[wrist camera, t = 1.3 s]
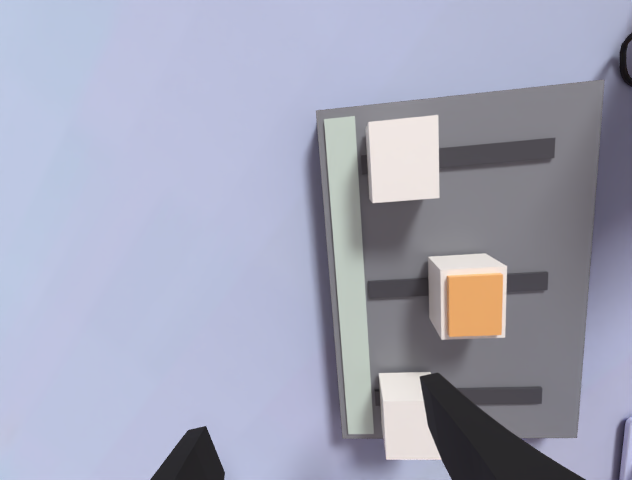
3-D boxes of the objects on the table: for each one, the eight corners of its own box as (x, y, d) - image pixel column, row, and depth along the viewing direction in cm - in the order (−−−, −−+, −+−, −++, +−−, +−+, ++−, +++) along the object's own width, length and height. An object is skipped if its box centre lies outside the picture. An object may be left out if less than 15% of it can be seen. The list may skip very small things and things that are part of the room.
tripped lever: (485, 253, 18) (510, 268, 15) (484, 315, 19) (508, 340, 16) (428, 256, 18) (442, 271, 16) (429, 318, 19) (443, 342, 16)
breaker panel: (576, 89, 18) (607, 78, 16) (556, 414, 22) (579, 440, 20) (319, 116, 20) (315, 109, 17) (343, 416, 23) (342, 441, 21)
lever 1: (425, 122, 17) (438, 114, 14) (426, 194, 18) (439, 198, 15) (365, 128, 17) (368, 121, 15) (369, 198, 18) (372, 203, 15)
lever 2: (430, 371, 20) (442, 400, 17) (431, 425, 20) (442, 459, 18) (378, 373, 20) (383, 401, 18) (381, 425, 21) (386, 459, 18)
